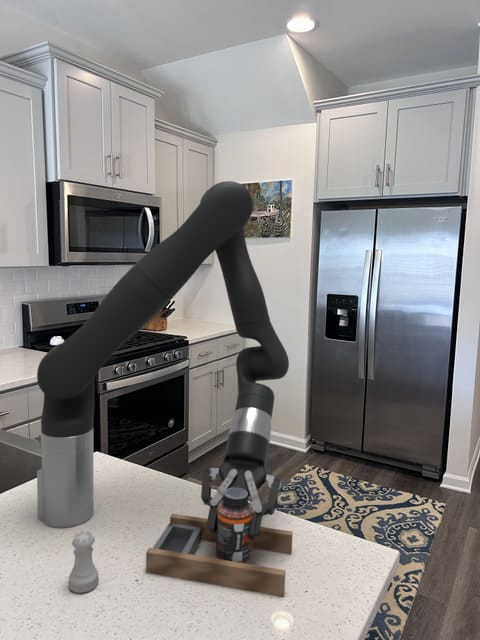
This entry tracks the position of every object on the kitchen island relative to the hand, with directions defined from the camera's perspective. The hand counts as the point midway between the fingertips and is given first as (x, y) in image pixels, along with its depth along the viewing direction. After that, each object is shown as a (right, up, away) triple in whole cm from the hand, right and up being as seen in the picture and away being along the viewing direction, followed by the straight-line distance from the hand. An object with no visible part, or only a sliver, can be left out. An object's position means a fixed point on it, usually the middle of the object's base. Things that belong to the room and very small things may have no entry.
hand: (232, 535), depth 77 cm
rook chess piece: (-23, -6, -4) cm, 24 cm away
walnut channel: (-2, -5, +3) cm, 6 cm away
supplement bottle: (0, -5, +2) cm, 5 cm away
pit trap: (-9, -5, +4) cm, 12 cm away
